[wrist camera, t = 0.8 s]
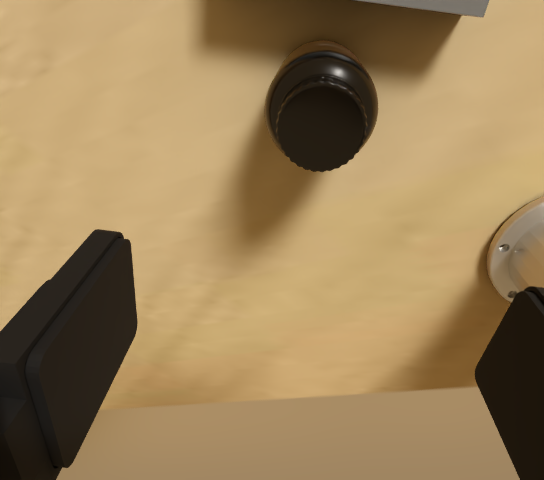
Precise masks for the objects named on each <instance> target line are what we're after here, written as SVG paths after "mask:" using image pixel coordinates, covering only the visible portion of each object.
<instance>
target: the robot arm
mask: <svg viewBox="0 0 544 480" xmlns="http://www.w3.org/2000/svg"><path fill="white" fill-rule="evenodd" d="M487 271H488V276H489V278H490V280H491V282H492V284H493V285H494V287H495V288H496V290H497V291H498V292H499V294H500V295H501V296H502V297H503V298H505V299H506V300H507V301H509V302H511V305H510V307H509V308H508V310H507V312H506V314H505V316H504V317H503V319H502V321H501V323H500V325H499V326H498V328H497V330H496V332H495V334H494V335H493V337H492V339H491V341H490V343H489V344H488V346H487V348H486V350H485V352H484V353H483V355H482V357H481V359H480V361H479V362H478V364H477V366H476V369H475V379H476V382H477V385H478V387H479V389H480V391H481V394H482V395H483V398H484V400H485V403H486V405H487V407H488V409H489V411H490V414H491V416H492V418H493V420H494V423H495V425H496V427H497V429H498V431H499V434H500V436H501V438H502V440H503V443H504V445H505V447H506V449H507V451H508V454H509V456H510V458H511V460H512V463H513V465H514V467H515V469H516V471H517V474H518V476H519V478H520V480H544V196H542V197H540V198H538V199H536V200H534V201H532V202H530V203H528V204H527V205H525V206H524V207H523V208H521V209H520V210H518V211H517V212H515V213H514V214H513V215H512V216H511V217H510V218H509V219H508V220H507V221H506V222H505V223H504V224H503V225H502V227H501V228H500V229H499V230H498V232H497V233H496V235H495V237H494V238H493V240H492V242H491V244H490V247H489V251H488V254H487ZM136 330H137V312H136V300H135V288H134V276H133V265H132V253H131V243H130V241H129V240H128V239H124V237H123V235H122V233H121V232H114V231H107V230H99V229H97V230H95V231H93V232H92V233H91V234H90V236H89V237H88V238H87V239H86V240H85V241H84V242H83V244H82V245H81V246H80V247H79V248H78V249H77V250H76V251H75V253H74V254H73V255H72V256H71V257H70V258H69V259H68V260H67V262H66V263H65V264H64V265H63V266H62V267H61V268H60V270H59V271H58V272H57V273H56V274H55V275H54V276H53V277H52V279H51V280H47V281H46V282H45V283H44V284H43V285H42V286H41V287H40V288H39V289H38V290H37V291H36V292H35V294H34V295H33V296H32V297H31V298H30V299H29V300H28V301H27V303H26V304H25V305H24V306H23V307H22V308H21V309H20V310H19V311H18V313H17V314H16V315H15V316H14V317H13V318H12V319H11V320H10V321H9V323H8V324H7V325H6V326H5V327H4V328H3V329H2V330H1V331H0V480H56V478H57V476H58V474H59V473H60V471H61V469H62V467H65V468H68V467H69V466H70V465H71V464H72V463H73V461H74V459H75V457H76V455H77V453H78V451H79V449H80V447H81V445H82V443H83V441H84V439H85V437H86V435H87V433H88V431H89V429H90V427H91V425H92V423H93V421H94V418H95V417H96V414H97V412H98V410H99V408H100V406H101V404H102V402H103V400H104V398H105V396H106V394H107V392H108V390H109V388H110V386H111V384H112V382H113V380H114V378H115V376H116V374H117V372H118V370H119V368H120V366H121V364H122V362H123V359H124V357H125V355H126V353H127V351H128V349H129V347H130V345H131V343H132V341H133V339H134V337H135V334H136Z"/></svg>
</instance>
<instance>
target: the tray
mask: <svg viewBox="0 0 544 480" xmlns="http://www.w3.org/2000/svg"><path fill="white" fill-rule="evenodd" d="M353 1H361V2H368V3H375V4H383V5H390V6H398V7H405V8H412V9H420V10H427V11H435V12H442V13H449V14H457V15H465V16H475V17H484V14H485V11H486V8H487V5H488V3H489V0H353Z"/></svg>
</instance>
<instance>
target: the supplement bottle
mask: <svg viewBox="0 0 544 480" xmlns="http://www.w3.org/2000/svg"><path fill="white" fill-rule="evenodd" d="M377 115H378V98H377V93H376V89H375V86H374V84H373V81H372V79H371V77H370V76H369V74H368V73H367V71H366V70H365V68H364V67H363V66H362V64H361V63H360V61H359V60H358V59H357V57H356V56H355V55H354V54H353V53H352V52H351V51H350V50H349V49H347V48H346V47H344V46H343V45H341V44H339V43H336V42H333V41H326V40H318V41H312V42H309V43H306V44H304V45H302V46H300V47H298V48H297V49H295V50H294V51H293V52H292V53H291V54H290V55H289V56H288V57H287V58H286V59H285V61H284V62H283V64H282V65H281V67H280V69H279V71H278V72H277V74H276V76H275V78H274V79H273V81H272V83H271V85H270V87H269V90H268V93H267V97H266V103H265V119H266V125H267V128H268V131H269V134H270V136H271V138H272V140H273V141H274V143H275V144H276V146H277V147H278V148H279V149H280V150H281V151H282V152H283V153H284V154H285V155H286V156H287V157H289V158H290V160H291V162H294V163H296V164H297V166H299V167H303V168H304V169H305V170H311V171H313V172H315V171H320V172H324V171H326V170H328V171H331V170H333V169H334V168H339V167H340V166H341V165H344V164H347V162H348V161H349V160H351V159H353V158H354V155H355V154H356V153H358V152H359V150H360V149H361V148H362V147H363V146H364V145H365V143H366V142H367V141H368V139H369V138H370V136H371V134H372V132H373V130H374V127H375V124H376V121H377Z"/></svg>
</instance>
